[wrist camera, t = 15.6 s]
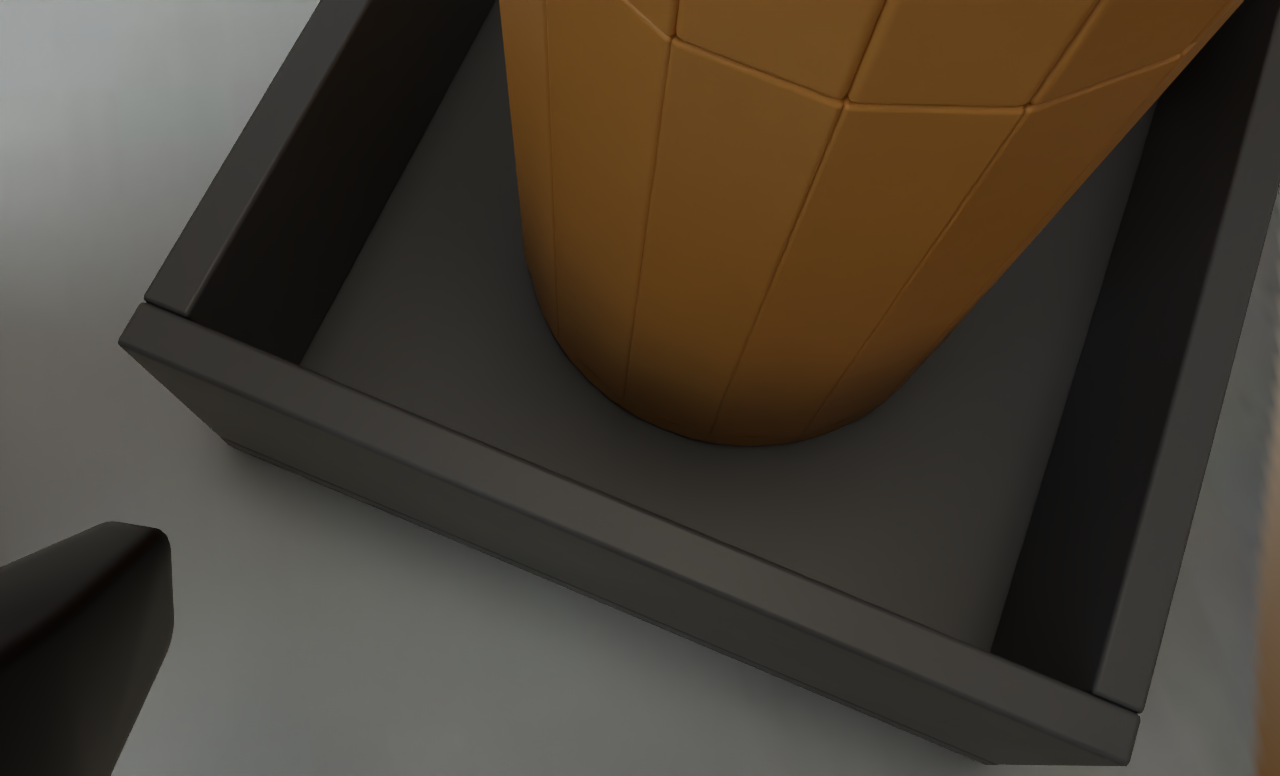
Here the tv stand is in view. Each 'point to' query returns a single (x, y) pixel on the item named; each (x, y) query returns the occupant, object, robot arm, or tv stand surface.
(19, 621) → the robot arm
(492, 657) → the tv stand surface
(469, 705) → the tv stand surface
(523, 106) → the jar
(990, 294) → the dark grey square tray
